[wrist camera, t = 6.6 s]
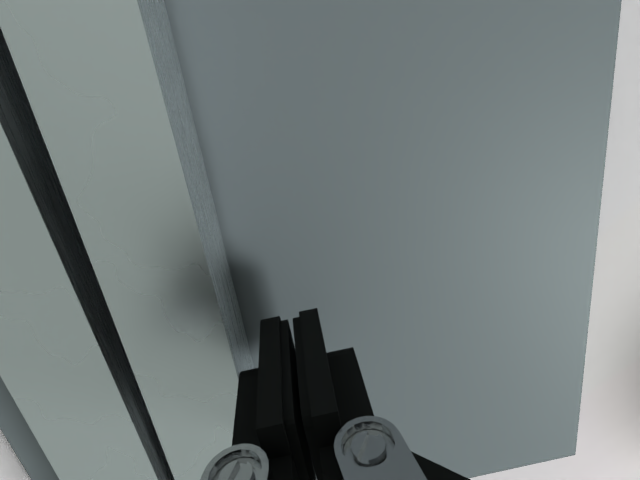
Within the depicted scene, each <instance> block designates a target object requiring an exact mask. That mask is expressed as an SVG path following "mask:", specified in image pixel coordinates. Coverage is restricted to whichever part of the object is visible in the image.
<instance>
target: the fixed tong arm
mask: <svg viewBox="0 0 640 480" xmlns="http://www.w3.org/2000/svg"><path fill="white" fill-rule="evenodd" d="M0 376H1V378H2V380H3V382H4V383H5V385H6V387H7V389H8V390H9V392H10V394H11V396H12V397H13V399H14V401H15V403H16V404H17V406H18V408H19V410H20V411H21V413H22V415H23V417H24V418H25V420H26V422H27V424H28V425H29V427H30V429H31V431H32V432H33V434H34V436H35V438H36V439H37V441H38V443H39V445H40V446H41V448H42V450H43V452H44V453H45V455H46V457H47V459H48V460H49V462H50V464H51V466H52V467H53V469H54V471H55V473H56V474H57V476H58V478H59V480H175V479H174V477H173V474H172V472H171V469H170V466H169V464H168V461H167V459H166V456H165V453H164V451H163V448H162V446H161V443H160V440H159V438H158V435H157V433H156V430H155V427H154V425H153V422H152V420H151V417H150V414H149V412H148V409H147V407H146V404H145V402H144V399H143V396H142V394H141V391H140V389H139V386H138V383H137V381H136V378H135V376H134V373H133V370H132V368H131V365H130V363H129V360H128V357H127V355H126V352H125V350H124V347H123V344H122V342H121V339H120V337H119V334H118V331H117V329H116V326H115V324H114V321H113V318H112V316H111V313H110V311H109V308H108V305H107V303H106V300H105V298H104V295H103V292H102V290H101V287H100V285H99V282H98V279H97V277H96V274H95V272H94V269H93V266H92V264H91V261H90V259H89V256H88V253H87V251H86V248H85V246H84V243H83V240H82V238H81V235H80V233H79V230H78V227H77V225H76V222H75V220H74V217H73V214H72V212H71V209H70V207H69V204H68V201H67V199H66V196H65V194H64V191H63V188H62V186H61V183H60V181H59V178H58V175H57V173H56V170H55V168H54V165H53V162H52V160H51V157H50V155H49V152H48V150H47V147H46V144H45V142H44V139H43V137H42V134H41V131H40V129H39V126H38V124H37V121H36V118H35V116H34V113H33V111H32V108H31V105H30V103H29V100H28V98H27V95H26V92H25V90H24V87H23V85H22V82H21V79H20V77H19V74H18V72H17V69H16V66H15V64H14V61H13V59H12V56H11V53H10V51H9V48H8V46H7V43H6V40H5V38H4V35H3V33H2V30H1V27H0Z"/></svg>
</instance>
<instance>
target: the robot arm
mask: <svg viewBox="0 0 640 480" xmlns="http://www.w3.org/2000/svg"><path fill="white" fill-rule="evenodd" d="M293 330H294V341H295V346H294V342H293V338H292V334H291V330H290V325H289V322H288V319H287V320H282V321H281V318H280V316H277V317H272V318H267V319H262V320H261V321H260V340H259V363H258V368H255V369H250V370H245V371H241V372H240V374H239V381H238V391H237V400H236V410H235V419H234V429H233V438H232V446H231V447H229V448H227V449H224V450H222V451H221V452H220V453H219V454H217V455H216V456H215V457H213V459H212V460H211V461H210V462H209V463H208V465H207V466H206V468H205V470H204V472H203V474H202V476H201V479H200V480H316V478H317V480H470V479H468V478H466V477H464V476H462V475H460V474H458V473H456V472H453V471H451V470H449V469H447V468H445V467H443V466H441V465H439V464H437V463H435V462H433V461H430V460H428V459H426V458H424V457H422V456H420V455H418V454H416V453H414V452H412V451H410V449H409V447H408V445H407V444H406V442H405V440H404V438H403V437H402V435H401V433H400V431H399V430H398V429H397V428H396V426H395V425H394V424H393V423H391V422H390V421H388V420H386V419H384V418H381V417H377V416H374V414H373V410H372V407H371V404H370V400H369V397H368V394H367V391H366V387H365V384H364V381H363V377H362V374H361V371H360V368H359V364H358V361H357V358H356V354H355V351H354V348H353V347H351V348H346V349H342V350H337V351H332V352H328V353H327V352H326V348H325V343H324V338H323V333H322V328H321V324H320V319H319V314H318V309H317V308H314V309H309V310H304V311H300V312H299V317H296V318H293Z"/></svg>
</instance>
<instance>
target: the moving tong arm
mask: <svg viewBox="0 0 640 480" xmlns="http://www.w3.org/2000/svg"><path fill="white" fill-rule="evenodd" d="M0 27H1V30H2V33H3V35H4V38H5V40H6V43H7V46H8V48H9V51H10V53H11V56H12V59H13V61H14V64H15V66H16V69H17V72H18V74H19V77H20V79H21V82H22V85H23V87H24V90H25V92H26V95H27V98H28V100H29V103H30V105H31V108H32V111H33V113H34V116H35V118H36V121H37V124H38V126H39V129H40V131H41V134H42V137H43V139H44V142H45V144H46V147H47V150H48V152H49V155H50V157H51V160H52V162H53V165H54V168H55V170H56V173H57V175H58V178H59V181H60V183H61V186H62V188H63V191H64V194H65V196H66V199H67V201H68V204H69V207H70V209H71V212H72V214H73V217H74V220H75V222H76V225H77V227H78V230H79V233H80V235H81V238H82V240H83V243H84V246H85V248H86V251H87V253H88V256H89V259H90V261H91V264H92V266H93V269H94V272H95V274H96V277H97V279H98V282H99V285H100V287H101V290H102V292H103V295H104V298H105V300H106V303H107V305H108V308H109V311H110V313H111V316H112V318H113V321H114V324H115V326H116V329H117V331H118V334H119V337H120V339H121V342H122V344H123V347H124V350H125V352H126V355H127V357H128V360H129V363H130V365H131V368H132V370H133V373H134V376H135V378H136V381H137V383H138V386H139V389H140V391H141V394H142V396H143V399H144V402H145V404H146V407H147V409H148V412H149V414H150V417H151V420H152V422H153V425H154V427H155V430H156V433H157V435H158V438H159V440H160V443H161V446H162V448H163V451H164V453H165V456H166V459H167V461H168V464H169V466H170V469H171V472H172V474H173V477H174V479H175V480H200V479H201V476H202V474H203V472H204V470H205V468H206V466H207V465H208V463H209V462H210V461H211V460H212V459H213V457H215V456H216V455H217V454H219V453H220V452H221V451H222V450H224V449H227V448H229V447H231V446H232V438H233V429H234V419H235V410H236V400H237V391H238V381H239V374H240V372H241V371H245V370H250V369H254V365H253V361H252V357H251V353H250V349H249V345H248V341H247V337H246V333H245V329H244V325H243V320H242V316H241V312H240V308H239V304H238V300H237V296H236V292H235V288H234V284H233V280H232V276H231V272H230V268H229V264H228V259H227V255H226V251H225V247H224V243H223V239H222V235H221V231H220V227H219V223H218V219H217V215H216V211H215V207H214V203H213V198H212V194H211V190H210V186H209V182H208V178H207V174H206V170H205V166H204V162H203V158H202V154H201V150H200V146H199V142H198V137H197V133H196V129H195V125H194V121H193V117H192V113H191V109H190V105H189V101H188V97H187V93H186V89H185V85H184V80H183V76H182V72H181V68H180V64H179V60H178V56H177V52H176V48H175V44H174V40H173V36H172V32H171V28H170V24H169V19H168V15H167V11H166V7H165V3H164V0H0Z"/></svg>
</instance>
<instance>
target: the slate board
mask: <svg viewBox="0 0 640 480" xmlns="http://www.w3.org/2000/svg"><path fill="white" fill-rule="evenodd" d="M164 3H165V7H166V11H167V15H168V19H169V24H170V28H171V32H172V36H173V40H174V44H175V48H176V52H177V56H178V60H179V64H180V68H181V72H182V76H183V80H184V85H185V89H186V93H187V97H188V101H189V105H190V109H191V113H192V117H193V121H194V125H195V129H196V133H197V137H198V142H199V146H200V150H201V154H202V158H203V162H204V166H205V170H206V174H207V178H208V182H209V186H210V190H211V194H212V198H213V203H214V207H215V211H216V215H217V219H218V223H219V227H220V231H221V235H222V239H223V243H224V247H225V251H226V255H227V259H228V264H229V268H230V272H231V276H232V280H233V284H234V288H235V292H236V296H237V300H238V304H239V308H240V312H241V316H242V320H243V325H244V329H245V333H246V337H247V341H248V345H249V349H250V353H251V357H252V361H253V365H254V369H255V368H258V363H259V340H260V321H261V320H262V319H267V318H272V317H277V316H280V318H281V321H282V320H287V319H288V322H289V325H290V330H291V334H292V338H293V342H294V346H295V341H294V330H293V318H296V317H299V312H300V311H304V310H309V309H314V308H317V309H318V314H319V319H320V324H321V328H322V333H323V338H324V343H325V348H326V352H327V353H328V352H332V351H337V350H342V349H346V348H351V347H353V348H354V351H355V354H356V358H357V361H358V364H359V368H360V371H361V374H362V377H363V381H364V384H365V387H366V391H367V394H368V397H369V400H370V404H371V407H372V410H373V414H374V416H377V417H381V418H384V419H386V420H388V421H390V422H391V423H393V424H394V425H395V426H396V428H397V429H398V430H399V431H400V433H401V435H402V437H403V438H404V440H405V442H406V444H407V445H408V447H409V449H410V451H412V452H414V453H416V454H418V455H420V456H422V457H424V458H426V459H428V460H430V461H433V462H435V463H437V464H439V465H441V466H443V467H445V468H447V469H449V470H451V471H453V472H456V473H458V474H460V475H462V476H464V477H466V478H472V477H476V476H481V475H485V474H490V473H495V472H499V471H504V470H508V469H513V468H517V467H522V466H526V465H531V464H536V463H540V462H545V461H549V460H554V459H558V458H563V457H568V456H572V455H575V452H576V442H577V432H578V422H579V413H580V403H581V393H582V383H583V373H584V364H585V354H586V344H587V334H588V324H589V314H590V305H591V295H592V285H593V275H594V265H595V256H596V246H597V236H598V226H599V216H600V206H601V197H602V187H603V177H604V167H605V157H606V148H607V138H608V128H609V118H610V108H611V99H612V89H613V79H614V69H615V59H616V49H617V40H618V30H619V20H620V10H621V0H164ZM0 429H1V430H2V432H3V433H4V435H5V437H6V438H7V440H8V442H9V443H10V445H11V447H12V448H13V450H14V452H15V453H16V455H17V457H18V458H19V460H20V461H21V463H22V465H23V466H24V468H25V470H26V471H27V473H28V475H29V476H30V478H31V480H59V478H58V476H57V474H56V473H55V471H54V469H53V467H52V466H51V464H50V462H49V460H48V459H47V457H46V455H45V453H44V452H43V450H42V448H41V446H40V445H39V443H38V441H37V439H36V438H35V436H34V434H33V432H32V431H31V429H30V427H29V425H28V424H27V422H26V420H25V418H24V417H23V415H22V413H21V411H20V410H19V408H18V406H17V404H16V403H15V401H14V399H13V397H12V396H11V394H10V392H9V390H8V389H7V387H6V385H5V383H4V382H3V380H2V378H1V376H0ZM316 480H317V478H316Z"/></svg>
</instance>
